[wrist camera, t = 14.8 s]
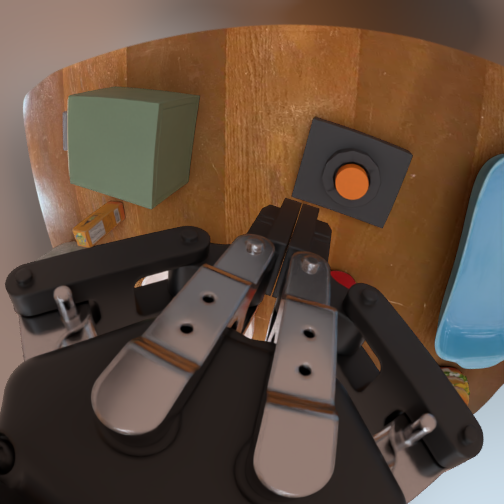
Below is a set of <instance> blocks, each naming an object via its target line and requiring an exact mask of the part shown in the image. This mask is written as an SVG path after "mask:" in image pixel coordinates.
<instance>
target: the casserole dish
mask: <svg viewBox="0 0 504 504" xmlns="http://www.w3.org/2000/svg"><path fill="white" fill-rule="evenodd" d="M435 351H436V353H437V355H438V356H439V357H440V358H442V359H444V360H447V361H451V362H456V363H457V364H458V365H460V366H461V367H462V368H466V369H478V368H486V367H490V366H493V365H495V364H497V363H499V362H501V361H503V360H504V154H500V155H497V156H494V157H493V158H491V159H489V160H488V161H487V162H486V163H485V164H484V165H483V167H482V168H481V170H480V171H479V173H478V175H477V177H476V180H475V182H474V185H473V189H472V192H471V196H470V200H469V204H468V208H467V213H466V217H465V222H464V226H463V231H462V235H461V239H460V243H459V247H458V251H457V254H456V258H455V262H454V265H453V268H452V272H451V275H450V278H449V281H448V284H447V288H446V291H445V294H444V298H443V301H442V305H441V309H440V314H439V320H438V327H437V333H436V337H435Z"/></svg>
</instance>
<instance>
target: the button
mask: <svg viewBox="0 0 504 504" xmlns="http://www.w3.org/2000/svg"><path fill="white" fill-rule="evenodd" d="M335 186H336V189H337V191H338V193H339V194H340V195H341V196H342V197H344V198H346V199H350V200H355V199H359V198H361V197H362V196H364V195H365V193H366V192H367V190H368V186H369V183H368V178H367V174H366V172H365V170H364V169H363V168H362V167H360V166H359V165H356V164H346V165H344V166H342V167H341V168H340V169H339V170H338V172H337V174H336V180H335Z"/></svg>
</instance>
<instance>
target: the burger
mask: <svg viewBox="0 0 504 504" xmlns="http://www.w3.org/2000/svg"><path fill="white" fill-rule="evenodd" d="M441 369H442V371H443V372H444V374H445V375H446V376H447V378H448V379H449V381H450V382H451V383H452V385H453V386H454V388H455V389H456V390H457V392H458V393H459V395H460V396H461V398H462V399H463V400H464V402H465V403H466V405H468V402H469V396H468V395H469V394H470V392H469V387H468V384H469V383H468V382H467V378H466V376H465V377H464V375H463V374H462V372H461V371H460V370H458V369H456V368H453V367H441Z"/></svg>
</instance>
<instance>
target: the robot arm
mask: <svg viewBox="0 0 504 504" xmlns="http://www.w3.org/2000/svg"><path fill="white" fill-rule="evenodd" d="M301 204H302V203H300V202H297V201H294V200H291V199H288V198H285V200H284V202H283V204H282V206H281V208H279V207H276V206H273V205H268V206H266V207H264V208H262V210H261V211H260V213H259V215H258V216H257V218H256V220H255V221H254V223H253V224H252V226H251V227H250V229H249V231H248V232H247V234H243V235H240V236H238V237H237V238H236V239H235V240H234V241H233V242H232V244H228V245H224V244H214V243H210V236H209V234H208V233H207V232H206V231H204V230H202V229H200V228H198V227H193V226H182V227H177V228H172V229H168V230H163V231H158V232H154V233H149V234H145V235H140V236H136V237H131V238H127V239H123V240H118V241H114V242H110V243H106V244H101V245H97V246H93V247H89V248H85V249H81V250H77V251H73V252H69V253H65V254H61V255H57V256H53V257H49V258H46V259H42V260H38V261H34V262H31V263H27V264H23V265H21V266H19V267H17V268H16V269H14V270H13V271H12V272H11V273H10V274H9V275H8V277H7V279H6V283H5V286H6V290H7V292H8V294H9V297H10V299H11V301H12V303H13V305H14V310H15V312H16V314H17V316H18V318H19V324H20V334H21V342H22V349H23V357H24V362H23V363H22V364H20V365H19V366H18V367H17V368H16V369H15V370H14V371H13V373H12V374H11V376H10V378H9V379H8V381H7V384H6V387H5V390H4V396H3V402H2V408H1V412H0V504H408V503H409V502H410V501H411V500H413V499H414V498H415V497H416V496H418V495H419V494H420V493H421V492H422V491H423V490H424V489H426V488H427V487H428V486H429V485H430V484H431V483H432V482H434V481H435V480H436V479H437V478H438V477H439V476H440V475H441V474H442V473H444V472H446V471H448V470H450V469H452V468H454V467H456V466H458V465H460V464H462V463H464V462H466V461H467V460H469V459H471V458H473V457H475V456H476V455H477V454H478V453H479V452H480V450H481V449H482V446H483V432H482V429H481V426H480V425H479V423H478V421H477V420H476V418H475V417H474V415H473V414H472V412H471V411H470V409H469V408H468V406H467V405H466V403H465V402H464V400H463V399H462V398H461V396H460V395H459V393H458V392H457V390H456V389H455V388H454V386H453V385H452V383H451V382H450V381H449V379H448V378H447V376H446V375H445V374H444V372H443V371H442V369H441V368H440V367H439V365H438V364H437V363H436V361H435V360H434V359H433V357H432V356H431V355H430V353H429V352H428V351H427V349H426V348H425V347H424V345H423V344H422V343H421V342H420V340H419V339H418V338H417V336H416V335H415V334H414V333H413V331H412V330H411V329H410V327H409V326H408V325H407V324H406V322H405V321H404V320H403V319H402V317H401V316H400V315H399V314H398V312H397V311H396V310H395V309H394V308H393V306H392V305H391V304H390V303H389V302H388V300H387V299H386V298H385V297H384V295H383V294H382V293H381V292H380V291H379V290H377V289H376V288H374V287H372V286H370V285H368V284H364V283H356V284H354V285H352V286H351V287H350V289H349V288H347V287H345V286H343V285H342V284H340V283H339V282H337V281H336V280H335V279H334V278H333V277H332V276H331V269H330V266H329V264H328V257H329V249H330V241H331V233H332V230H331V228H330V227H329V225H328V223H325V222H322V221H319V220H317V217H318V213H319V208H316V207H313V206H310V205H307V204H304V203H303V205H302V208H301V211H300V207H301ZM299 211H300V214H299ZM298 214H299V217H298ZM297 217H298V220H297ZM296 220H297V223H296ZM295 224H296V226H295ZM294 227H295V229H294ZM293 230H294V231H293ZM292 233H293V234H292ZM291 236H292V237H291ZM290 239H291V240H290ZM289 242H290V243H289ZM288 245H289V246H288ZM287 248H288V249H287ZM286 251H287V252H286ZM285 254H286V255H285ZM284 257H285V258H284ZM283 260H284V261H283ZM282 262H283V265H282ZM281 265H282V268H281ZM280 268H281V271H280ZM165 271H168V279H165V280H161V281H158V282H154V283H151V284H147V285H144V286H140V287H137V288H134V286H135V284H136V282H137V281H138V280H140V279H141V278H144V277H147V276H151V275H154V274H158V273H162V272H165ZM279 271H280V274H279ZM278 274H279V277H278V280H277V283H276V286H275V289H274V292H273V295H272V297H275V298H277V300H276V303H275V306H274V308H273V311H272V314H271V318H270V322H269V327H268V331H267V335H266V339H265V341H259V340H253V339H250V338H248V337H246V336H245V335H244V334H245V333H246V331H247V329H248V327H249V325H250V323H251V321H252V319H253V317H254V316H255V314H256V312H257V310H258V307H259V304H260V303H261V302H262V300H263V297H264V295H265V294H266V295H269V296H270V295H271V293H272V290H273V287H274V285H275V282H276V279H277V276H278ZM364 341H366V342H367V343H368V345H369V346H370V348H371V349H372V351H373V352H374V353H375V355H376V356H377V358H378V359H379V361H380V365H381V370H380V372H379V370H378V369H377V367H376V366H375V364H374V363H373V361H372V360H371V358H370V357H369V355H368V354H367V353H366V351H365V350H364V348H363V347H362V344H363V342H364Z"/></svg>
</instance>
